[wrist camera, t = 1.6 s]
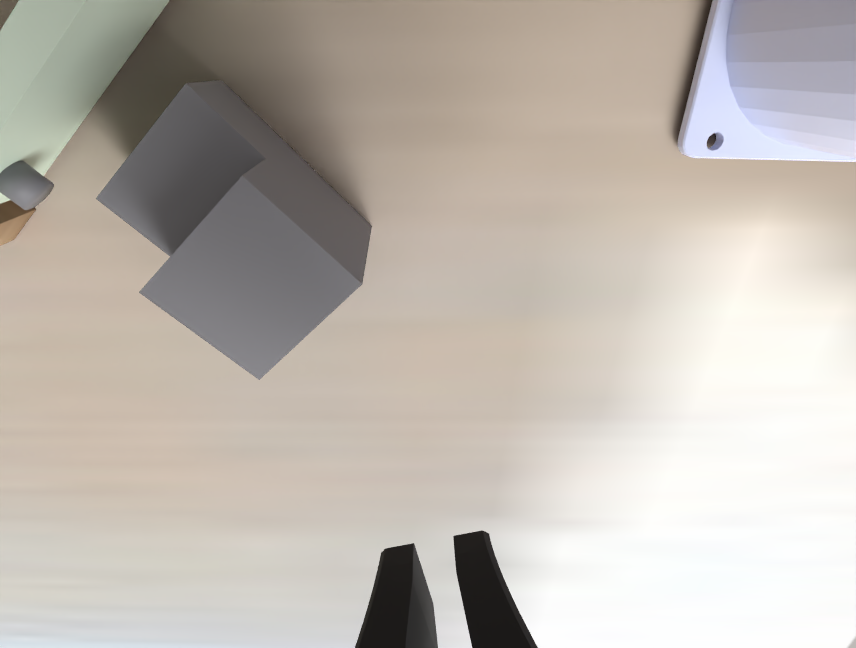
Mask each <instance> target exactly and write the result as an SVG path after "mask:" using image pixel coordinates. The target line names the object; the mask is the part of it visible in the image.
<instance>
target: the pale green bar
mask: <svg viewBox="0 0 856 648" xmlns="http://www.w3.org/2000/svg"><path fill="white" fill-rule="evenodd" d="M169 1H170V0H19V1H18V3H17V4H16V6H15V8H14V9H13V11H12V12H11V14H10V16H9V17H8V19H7V21H6V22H5V24H4V26H3V27H2V29H1V30H0V204H1V203H3V202H6V201H9V200H11V201H13V202H14V203H16V204H17V205H18V206H20V207H21V208H23V209H24V210H29V209H32V208H33V207H35V206H37V205H38V204H39V203H41V202H42V201H43V200H44V199H45V198H46V197H47V196H48V195H49V194H50V192H51V191H52V189H53V187H54V184H53V183H52V182H51V181H49V180H48V179H47V178H45V177H44V175H45V173H46V172H47V170H48V169H49V168H50V166H51V165H52V164H53V162H54V161H55V159H56V158H57V157H58V155H59V154H60V152H61V151H62V150H63V148H64V147H65V145H66V144H67V143H68V141H69V140H70V139H71V137H72V136H73V134H74V133H75V132H76V130H77V129H78V127H79V126H80V125H81V123H82V122H83V120H84V119H85V118H86V116H87V115H88V114H89V112H90V111H91V109H92V108H93V107H94V105H95V104H96V102H97V101H98V100H99V98H100V97H101V95H102V94H103V93H104V91H105V90H106V88H107V87H108V86H109V84H110V83H111V82H112V80H113V79H114V77H115V76H116V75H117V73H118V72H119V70H120V69H121V68H122V66H123V65H124V63H125V62H126V61H127V59H128V58H129V57H130V55H131V54H132V52H133V51H134V50H135V48H136V47H137V45H138V44H139V43H140V41H141V40H142V38H143V37H144V36H145V34H146V33H147V32H148V30H149V29H150V27H151V26H152V25H153V23H154V22H155V20H156V19H157V18H158V16H159V15H160V13H161V12H162V11H163V9H164V8H165V7H166V5H167V4H168V2H169Z"/></svg>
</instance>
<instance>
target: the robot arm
mask: <svg viewBox="0 0 856 648" xmlns="http://www.w3.org/2000/svg"><path fill="white" fill-rule="evenodd" d="M713 133H715V134H716V141H715V143H714V145H713V146H711V147H710V148H708V147H707V140H708V138H709V136H711V135H712V134H713ZM678 148H679V151H680V152H681V153H682V154H683V155H686V156H689V157H693V158H722V159H763V160H804V161H845V162H856V0H713V1H712V5H711V9H710V13H709V17H708V21H707V25H706V29H705V33H704V37H703V41H702V45H701V49H700V53H699V57H698V61H697V65H696V69H695V73H694V77H693V81H692V85H691V89H690V93H689V97H688V101H687V105H686V109H685V113H684V117H683V121H682V125H681V129H680V133H679V137H678ZM454 549H455V561H456V572H457V577H458V582H459V587H460V592H461V596H462V601H463V606H464V610H465V615H466V620H467V625H468V629H469V634H470V639H471V643H472V648H538V647H537V646H536V644H535V642H534V640H533V638H532V636H531V634H530V632H529V630H528V628H527V626H526V624H525V622H524V621H523V619H522V617H521V615H520V613H519V611H518V609H517V607H516V605H515V602H514V600H513V598H512V596H511V594H510V592H509V589H508V587H507V585H506V582H505V580H504V578H503V576H502V573H501V570H500V568H499V565H498V563H497V560H496V557H495V554H494V551H493V548H492V545H491V541H490V537H489V533H487V532H485V531H478V532H472V533H467V534H461V535H456V536H454ZM355 648H438V644H437V634H436V625H435V616H434V607H433V602H432V598H431V595H430V592H429V589H428V586H427V583H426V580H425V577H424V573H423V570H422V567H421V564H420V561H419V558H418V555H417V552H416V548H415V545H414V543H413V544H408V545H402V546H397V547H392V548H386V549H385V550H384V551H383V552H382V553H381V557H380V562H379V566H378V571H377V575H376V579H375V583H374V587H373V590H372V594H371V598H370V601H369V605H368V608H367V611H366V615H365V618H364V622H363V625H362V628H361V631H360V634H359V637H358V640H357V643H356V646H355Z"/></svg>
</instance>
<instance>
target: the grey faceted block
mask: <svg viewBox="0 0 856 648" xmlns="http://www.w3.org/2000/svg"><path fill="white" fill-rule="evenodd" d="M96 199H97V200H98V201H100V202H101V203H102V204H103V205H105V206H106V207H107V208H109V209H110V210H111V211H112V212H114V213H115V214H116V215H118V216H119V217H120V218H121V219H123V220H124V221H125V222H126V223H128V224H129V225H130V226H132V227H133V228H134V229H135V230H137V231H138V232H139V233H141V234H142V235H143V236H144V237H146V238H147V239H148V240H150V241H151V242H152V243H153V244H155V245H156V246H157V247H159V248H160V249H161V250H162V251H164V252H165V253H166V254H168V255H169V256H170V258H169V259H168V260H167V261H166V262H165V263H164V265H163V266H162V267H161V268H160V269H159V270H158V271H157V273H156V274H155V275H154V276H153V277H152V278H151V279H150V280H149V282H148V283H147V284H146V285H145V286H144V287H143V288H142V290H141V291H140V292H139V293H141V294H142V295H143V296H145V297H146V298H147V299H149V300H150V301H152V302H153V303H154V304H156V305H157V306H158V307H160V308H161V309H163V310H164V311H165V312H167V313H168V314H169V315H171V316H172V317H174V318H175V319H176V320H178V321H179V322H180V323H182V324H183V325H185V326H186V327H187V328H189V329H190V330H191V331H193V332H194V333H196V334H197V335H198V336H200V337H201V338H202V339H204V340H205V341H207V342H208V343H209V344H211V345H212V346H213V347H215V348H216V349H217V350H219V351H220V352H222V353H223V354H224V355H226V356H227V357H228V358H230V359H231V360H233V361H234V362H235V363H237V364H238V365H239V366H241V367H242V368H244V369H245V370H246V371H248V372H249V373H250V374H252V375H253V376H255V377H256V378H257V379H259V380H260V379H261V378H262V377H263V376H264V375H265V374H266V373H267V372H268V371H269V370H270V369H271V368H273V367H274V366H275V365H276V364H277V363H278V362H279V361H280V360H281V359H282V358H283V357H284V356H285V355H287V354H288V353H289V352H290V351H291V350H292V349H293V348H294V347H295V346H296V345H297V344H298V343H299V342H300V341H302V340H303V339H304V338H305V337H306V336H307V335H308V334H309V333H310V332H311V331H312V330H313V329H314V328H316V327H317V326H318V325H319V324H320V323H321V322H322V321H323V320H324V319H325V318H326V317H327V316H328V315H329V314H331V313H332V312H333V311H334V310H335V309H336V308H337V307H338V306H339V305H340V304H341V303H342V302H343V301H345V300H346V299H347V298H348V297H349V296H350V295H351V294H352V293H353V292H354V291H355V290H356V289H357V288H358V287H360V286H361V285H362V282H363V276H364V270H365V264H366V258H367V252H368V246H369V240H370V234H371V228H372V226H371V225H370V224H369V223H368V222H367V221H366V220H365V219H364V218H363V217H362V216H361V215H360V214H359V213H358V212H357V211H356V210H354V209H353V208H352V207H351V206H350V205H349V204H348V203H347V202H346V201H345V200H344V199H343V198H342V197H341V196H340V195H339V194H338V193H337V192H336V191H335V190H334V189H333V188H332V187H331V186H330V185H329V184H328V183H327V182H326V181H325V180H324V179H323V178H322V177H321V176H320V175H318V174H317V173H316V172H315V171H314V170H313V169H312V168H311V167H310V166H309V165H308V164H307V163H306V162H305V161H304V160H303V159H302V158H301V157H300V156H299V155H298V154H297V153H296V152H295V151H294V150H293V149H292V148H291V147H290V146H289V145H288V144H287V143H286V142H285V141H284V140H283V139H281V138H280V137H279V136H278V135H277V134H276V133H275V132H274V131H273V130H272V129H271V128H270V127H269V126H268V125H267V124H266V123H265V122H264V121H263V120H262V119H261V118H260V117H259V116H258V115H257V114H256V113H255V112H254V111H253V110H252V109H251V108H250V107H249V106H248V105H247V104H245V103H244V102H243V101H242V100H241V99H240V98H239V97H238V96H237V95H236V94H235V93H234V92H233V91H232V90H231V89H230V88H229V87H228V86H227V85H226V84H225V83H224V82H223V81H222V80H215V81H204V82H193V83H185V85H184V86H183V87H182V89H181V90H180V91H179V92H178V94H177V95H176V96H175V98H174V99H173V100H172V101H171V103H170V104H169V105H168V107H167V108H166V109H165V110H164V112H163V113H162V114H161V116H160V117H159V118H158V119H157V121H156V122H155V123H154V125H153V126H152V127H151V128H150V130H149V131H148V132H147V134H146V135H145V136H144V137H143V139H142V140H141V141H140V143H139V144H138V145H137V146H136V148H135V149H134V150H133V152H132V153H131V154H130V155H129V157H128V158H127V159H126V160H125V162H124V163H123V164H122V166H121V167H120V168H119V169H118V171H117V172H116V173H115V175H114V176H113V177H112V178H111V180H110V181H109V182H108V184H107V185H106V186H105V187H104V189H103V190H102V191H101V193H100V194H99V195H98V196H97V198H96Z"/></svg>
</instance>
